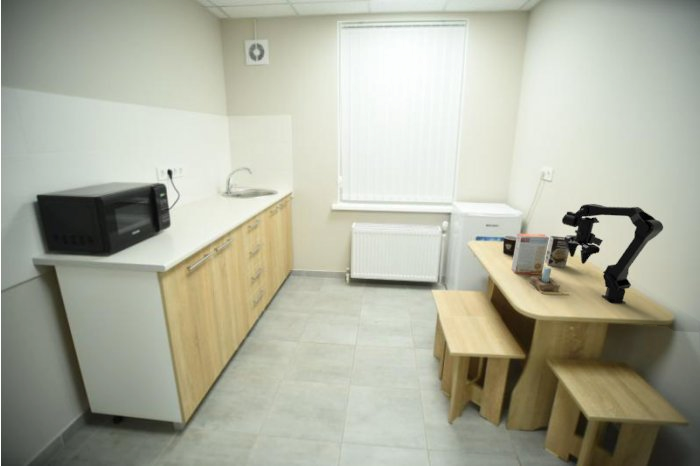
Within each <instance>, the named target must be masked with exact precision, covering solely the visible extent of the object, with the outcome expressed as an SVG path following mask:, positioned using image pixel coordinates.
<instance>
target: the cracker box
mask: <svg viewBox="0 0 700 466" xmlns="http://www.w3.org/2000/svg"><path fill="white" fill-rule="evenodd" d="M516 237H517V238H516V244H515V250H514V255H513V256H512V257H513V259H512V264H511V271H512V272H514V274H525V275H526V274H527V275H529V274H530V275H543V271H544V266H545V265H544V264H545V259H546V254H547V250H548V246H549V241H550V237H549V236H547V235H546V234H542V233H541V234H540V233H517V234H516Z"/></svg>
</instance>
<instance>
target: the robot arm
mask: <svg viewBox="0 0 700 466" xmlns="http://www.w3.org/2000/svg"><path fill="white" fill-rule="evenodd" d="M596 216H614V217H615V216H621V217H628V218H629V219H630V221H631V223H632V225H633V226H634V227H635V229H634V237H633V238H632V240H631V241H630V243H629V244H628V246H627V247H626V249H625V250H624V251H623V254H622V255H621V256H620V258H619V259H618V261H617V262H616V263H615V264H611V265H610V264H609V265H607V266H606V268H605V270H604V271H603V275H602V277H603V280H604V284H605V285H604V286H605V288H606V291H605V295H604V294H603V295H601V297H602V298H603V299H605V300H607V301H608V302H609V303H611V304H627V302H626V301H625V300H624V297H625V295H626V289H629V288H630V287H631V286H632V284H631V282H630V281H629V280H628V276H629V272H630V271H629V270H630V267H631V266H632V265H633V263H634V262H635V260H636V259H637V257H638V256H639V254H641V252H642V251H643V250H644V248H645V246H646V245H647V244H648V242H650V241H651V240H653V239H654V238H656V237H657V236H658V235H659V234H660V233H661V232H662V231H663V230H664V225H663V223H662V222H661V221H660V220H657V219H656V218H655V217H653V216H652V215H650V214H649V213H647V212H646V211H644V210H643V208H641V207H639V206H633V207H632V206H631V207H630V206H605V205H602V204H601V205H600V204H597V203H589V204H582V205H581V206H580V207H579V209H577V211H576V212H573V211H567V212H566V213H565V214H564V216H563V217H562V220H561V223H562V224H563V225H566V226H568V227H573V228H577V229H575V230H574V233H575V235H571V234H570V235H568V234H567V235H566V236H564V237H565V239H564V240H565V241H566V244H567V246H568V249H569V255H570V256H569V257H571V258H572V257H574V256H575V254H576V251H577V248H578V246H581V250H580V260H581V264H583V265H584V264H586V262H587V261H588V260H589V258H590V257H591V256H592V255H594V254H598V253H600V250H601V248H600V245H601V244H602V242H603V241H604V240H603V239H601V238H599V237H597V236H596V234H595V233H593V227H594V224H598V223H600V221H599V220H598V218H597V217H596Z"/></svg>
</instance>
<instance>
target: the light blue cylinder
mask: <svg viewBox="0 0 700 466" xmlns="http://www.w3.org/2000/svg"><path fill="white" fill-rule="evenodd" d="M551 272H552V268H551V267H546V266H545V267H544V266H543V271H542V274H541V275H542V276H541V277H542V280H541V282H542V283H548V282H549V278H551Z"/></svg>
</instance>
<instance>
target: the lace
mask: <svg viewBox="0 0 700 466" xmlns="http://www.w3.org/2000/svg"><path fill="white" fill-rule="evenodd" d="M538 292H539V293H540V294H541V295H561V296H562V295H564V296H569V295H570V293H569V292H559V291H558V292H542V291H541V290H539V291H538Z"/></svg>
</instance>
